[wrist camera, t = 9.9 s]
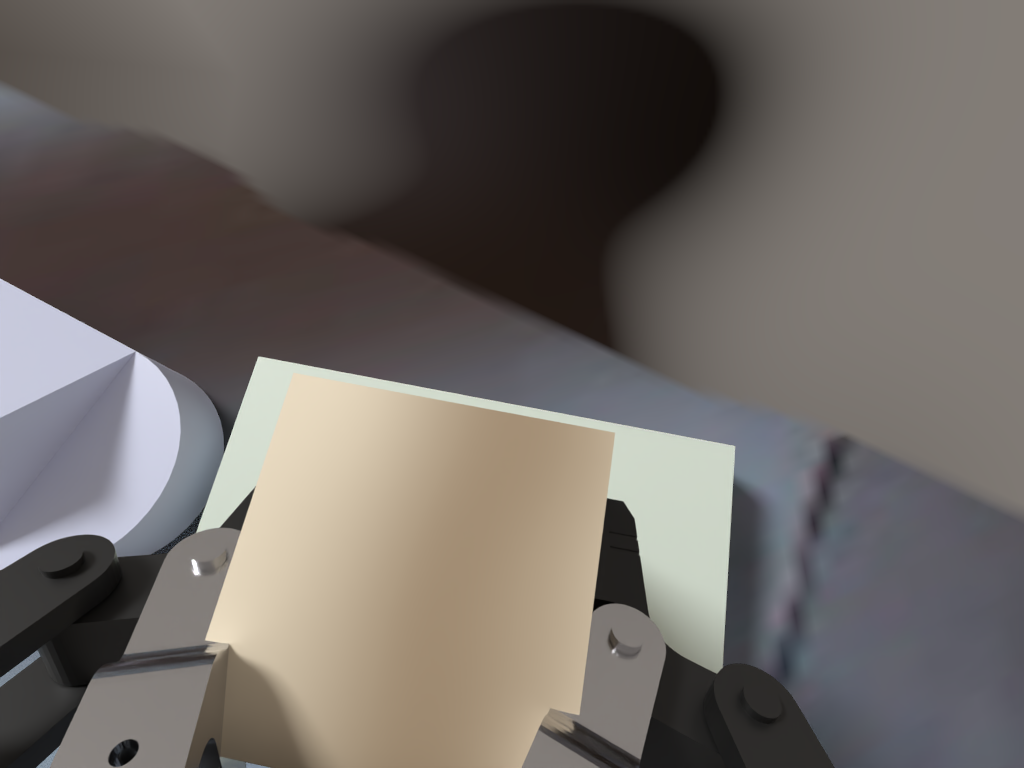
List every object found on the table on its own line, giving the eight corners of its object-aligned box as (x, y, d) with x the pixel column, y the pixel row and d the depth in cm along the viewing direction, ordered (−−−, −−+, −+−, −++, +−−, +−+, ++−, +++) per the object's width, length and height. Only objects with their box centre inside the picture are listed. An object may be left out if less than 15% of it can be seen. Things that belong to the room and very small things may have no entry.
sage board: (194, 655, 21) (145, 674, 18) (286, 378, 24) (258, 356, 21) (684, 755, 20) (715, 791, 17) (706, 457, 24) (735, 446, 21)
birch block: (359, 627, 15) (170, 745, 6) (400, 460, 16) (293, 372, 8) (526, 661, 15) (565, 829, 6) (553, 489, 16) (614, 433, 8)
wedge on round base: (-103, 463, 22) (136, 607, 21) (-343, 434, 16) (-21, 638, 15) (41, 299, 25) (264, 418, 24) (-118, 217, 18) (177, 374, 17)
